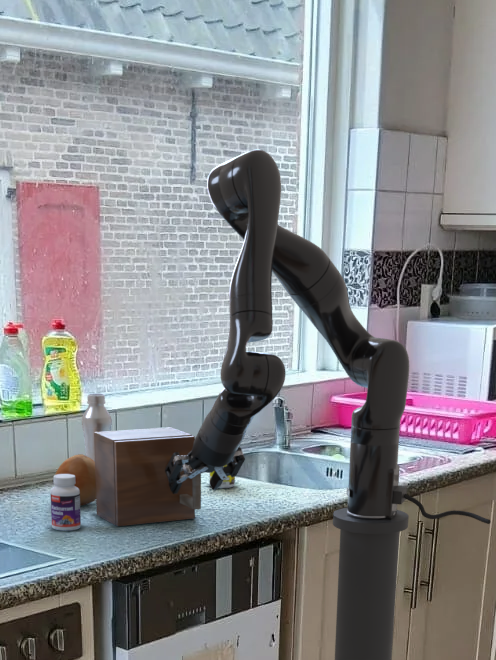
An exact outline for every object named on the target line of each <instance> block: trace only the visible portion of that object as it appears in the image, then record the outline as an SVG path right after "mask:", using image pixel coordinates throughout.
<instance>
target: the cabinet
mask: <svg viewBox="0 0 496 660" xmlns="http://www.w3.org/2000/svg"><path fill="white" fill-rule="evenodd" d="M182 436H193V434H191V433H189V432H186V431H183V430H179V429H177V428H175V427H171V426H167V427H166V426H165V427H151V428H149V427H148V428H135V429H120V430H119V429H118V430H111V431H103V432H94V451H95V481H96V500H95V510H96V516H97V517H100V518H102V519H103V520H105V521H107V522H109V523H110V524H111V525H114V526H117V525H116V497H115V460H114V441H124V440H139V439H153V438H168V437H182ZM117 527H118V526H117Z"/></svg>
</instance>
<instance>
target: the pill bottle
mask: <svg viewBox="0 0 496 660" xmlns="http://www.w3.org/2000/svg"><path fill="white" fill-rule="evenodd" d="M52 478H53V485H54V486H53V487H51V489H50V515H51V517H50V519H51V528H52V529H54V530H56V531H62V532H63V531H64V532H65V531H66V532H67V531H77V530H78V529H80V528H81V526H82V525H81V524H82V522H81V519H82V518H81V516H82V515H81V506H80V491H79V489H78V488H77V487H75V486H74V484H75V475H72V474H57V475H55V474H54V475H53V477H52Z"/></svg>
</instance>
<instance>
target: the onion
mask: <svg viewBox="0 0 496 660" xmlns="http://www.w3.org/2000/svg"><path fill="white" fill-rule="evenodd" d="M57 474H72V475H75V484H74V486H75V487H77V488H78V489H79V491H80V507H82V506H86V505H89V504H91V503H93V502H94V501H96V481H95V461H94V460H92V459H91V458H89V457H87V456H85V454H83V453H81V454H79V453H78V454H73V455H72V456H70V457H68V458H66V459H65V460H64V461H63V462H61V464H60V465H59V467H58V468H57V470H56V471H55V473H54V475H57Z"/></svg>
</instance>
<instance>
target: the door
mask: <svg viewBox="0 0 496 660" xmlns="http://www.w3.org/2000/svg"><path fill="white" fill-rule="evenodd" d="M195 438H196V435H195V436H194V435H192V436H182V437H168V438H153V439H139V440H124V441H114V460H115V497H116V525H117V527H123V526H135V525H142V524H143V525H145V524H153V523H162V522H173V521H183V520H192V519H193V520H194V519H195V518H196V511H197V510H201V509H202V473H200V474H198V475H196V476H195V477H193V478H192V479H189V478H188V479H186V480H185V481H183V482H182V485H181V487H180V489H179V491H178V493H177V494H173V493H172V492H171V490H170V487H169V481H168V478H167V475H166V473H165V468H166V466H167V464H168V463H169V461H170V459H171V457H172V455H173V453H175V452H179V454H180V456H183V455H187V454H188V453H189V452H190V451H192V449H193V443H194V440H195ZM189 468H190V471H191V472H192V471H193V469H192V468H191V466H190V465H189ZM180 474H181V476H182V475H183V474H184V471H182V472H180Z"/></svg>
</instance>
